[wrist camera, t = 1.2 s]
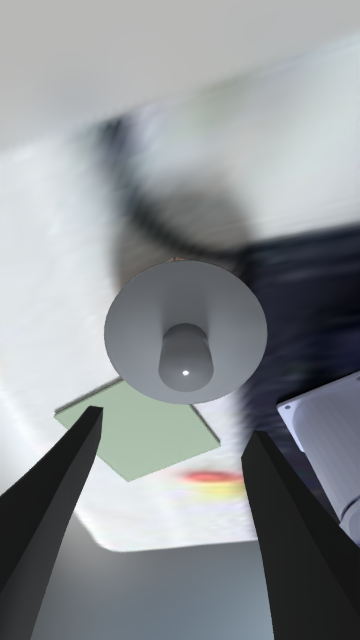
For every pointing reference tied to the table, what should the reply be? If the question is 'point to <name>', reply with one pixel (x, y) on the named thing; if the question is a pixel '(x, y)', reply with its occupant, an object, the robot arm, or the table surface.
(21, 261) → the table surface
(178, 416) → the mat
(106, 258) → the table surface
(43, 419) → the table surface
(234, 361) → the lid
